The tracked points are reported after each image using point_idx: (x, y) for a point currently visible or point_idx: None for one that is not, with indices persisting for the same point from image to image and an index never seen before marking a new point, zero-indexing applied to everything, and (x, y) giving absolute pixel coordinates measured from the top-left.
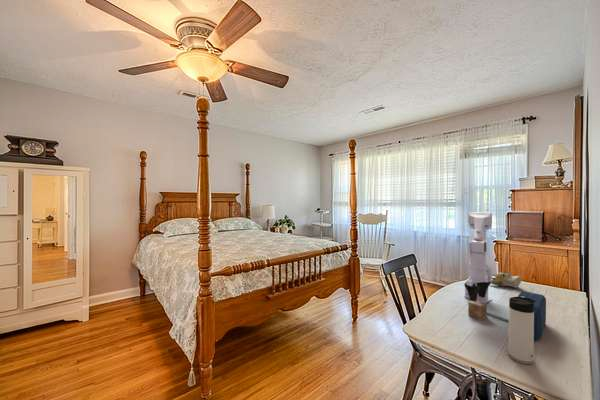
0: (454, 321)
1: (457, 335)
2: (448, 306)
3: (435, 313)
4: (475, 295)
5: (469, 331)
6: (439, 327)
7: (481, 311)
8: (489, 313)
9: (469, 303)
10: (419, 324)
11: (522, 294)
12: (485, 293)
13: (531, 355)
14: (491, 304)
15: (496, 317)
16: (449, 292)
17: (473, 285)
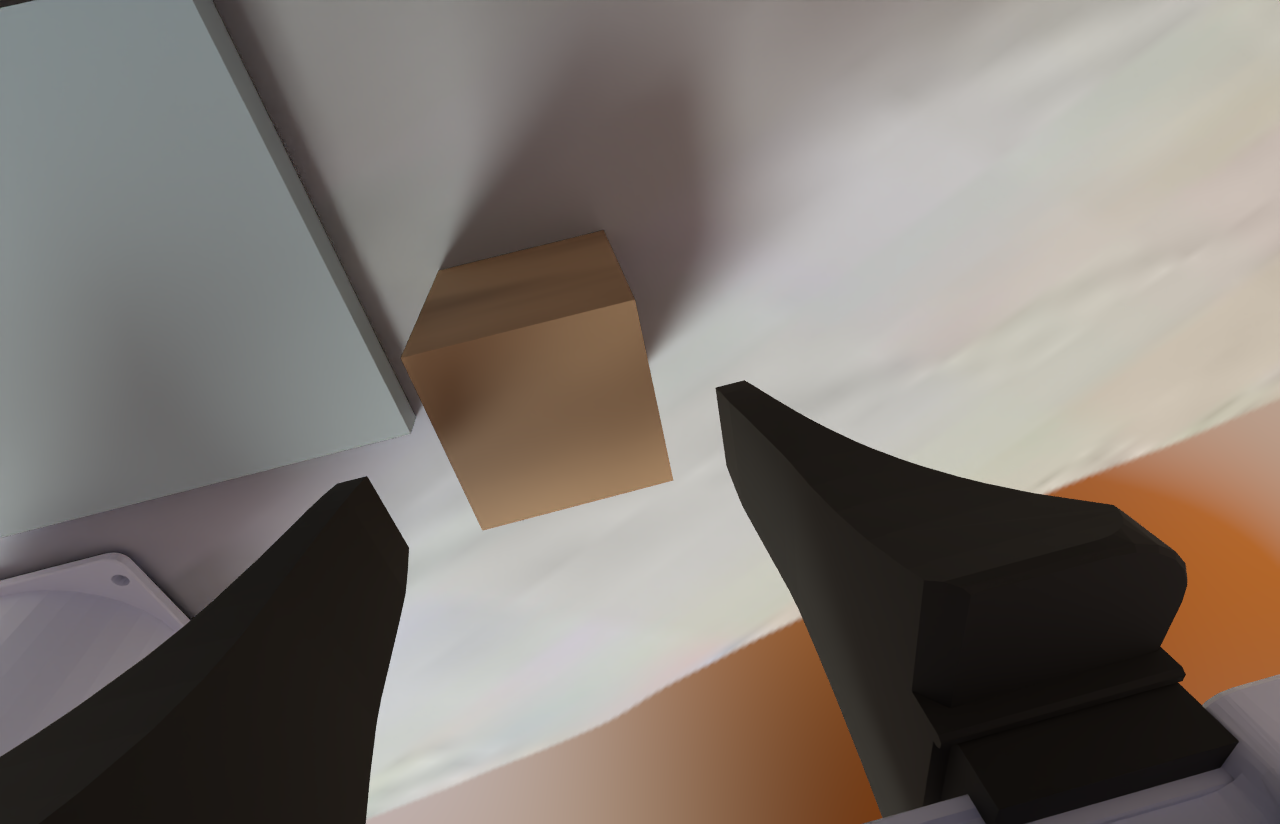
0: (923, 314)
1: (1250, 44)
2: (640, 576)
3: None
4: (844, 443)
5: (1046, 54)
6: (1177, 267)
7: (602, 270)
8: (345, 298)
9: (666, 458)
10: (1232, 374)
11: None
12: (300, 537)
13: None
14: (52, 493)
15: (305, 196)
16: None
17: (1126, 720)
